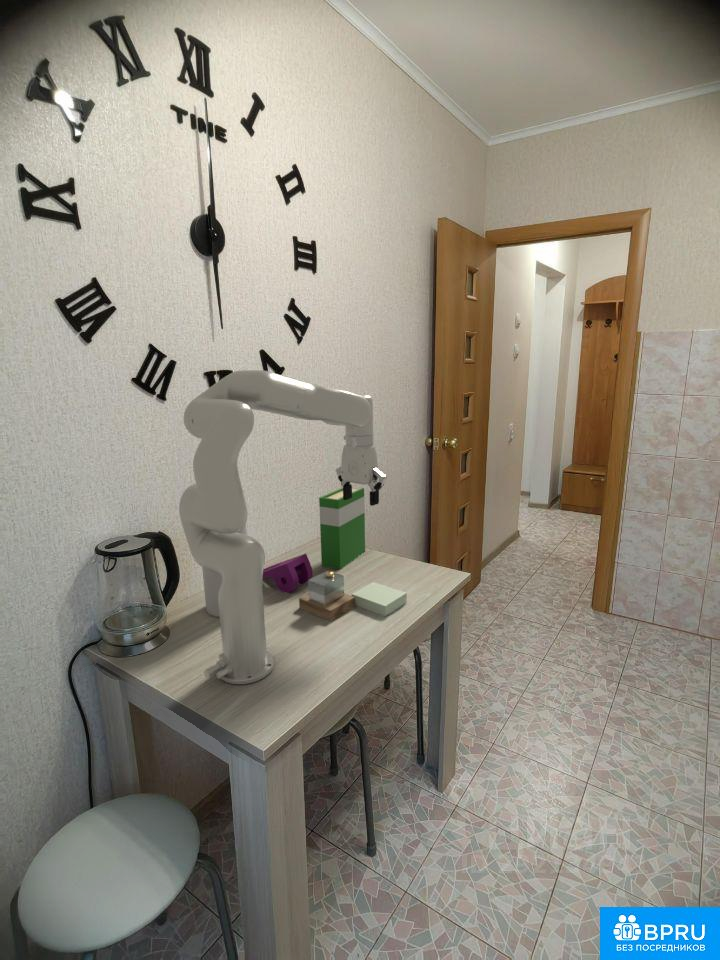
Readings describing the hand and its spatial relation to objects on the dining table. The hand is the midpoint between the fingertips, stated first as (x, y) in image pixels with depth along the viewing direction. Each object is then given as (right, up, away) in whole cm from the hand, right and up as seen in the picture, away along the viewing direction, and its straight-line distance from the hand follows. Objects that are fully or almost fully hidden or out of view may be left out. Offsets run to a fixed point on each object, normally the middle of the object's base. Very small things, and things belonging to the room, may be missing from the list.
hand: (360, 501), depth 137 cm
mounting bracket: (-25, -27, +18) cm, 41 cm away
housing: (-10, -27, 0) cm, 29 cm away
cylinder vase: (-37, -30, +2) cm, 48 cm away
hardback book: (-6, -22, +36) cm, 43 cm away
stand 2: (+5, -29, +3) cm, 30 cm away
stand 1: (-9, -30, +1) cm, 31 cm away
